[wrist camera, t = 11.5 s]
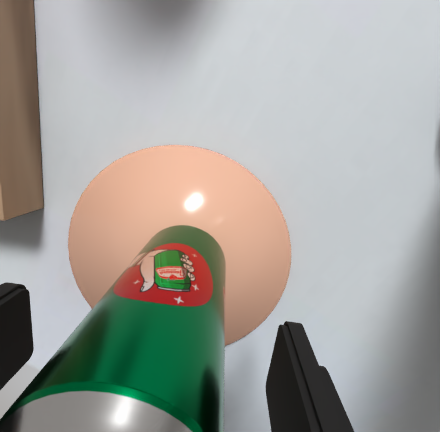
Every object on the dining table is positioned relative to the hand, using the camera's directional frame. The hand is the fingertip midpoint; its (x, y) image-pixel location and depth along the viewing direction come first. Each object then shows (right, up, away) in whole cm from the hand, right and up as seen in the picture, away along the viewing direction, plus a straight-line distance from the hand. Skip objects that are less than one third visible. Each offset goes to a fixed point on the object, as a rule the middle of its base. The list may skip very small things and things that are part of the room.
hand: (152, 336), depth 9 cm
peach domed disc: (0, +2, +7) cm, 8 cm away
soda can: (0, +2, +7) cm, 7 cm away
